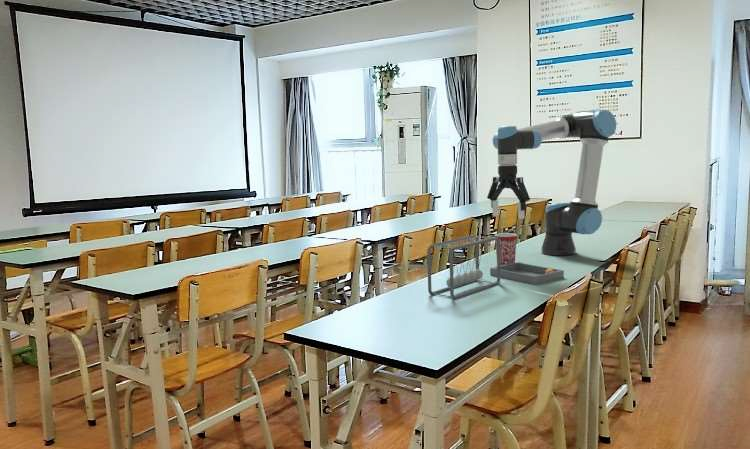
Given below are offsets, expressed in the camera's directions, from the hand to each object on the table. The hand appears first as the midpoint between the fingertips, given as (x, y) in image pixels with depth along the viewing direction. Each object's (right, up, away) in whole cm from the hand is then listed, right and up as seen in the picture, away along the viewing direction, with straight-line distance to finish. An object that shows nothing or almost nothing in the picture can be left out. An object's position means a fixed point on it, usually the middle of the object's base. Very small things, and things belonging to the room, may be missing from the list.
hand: (508, 217), depth 241 cm
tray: (+3, -23, -15) cm, 28 cm away
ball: (+12, -23, -18) cm, 31 cm away
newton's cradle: (-22, -26, -31) cm, 46 cm away
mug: (+2, -20, +8) cm, 22 cm away
